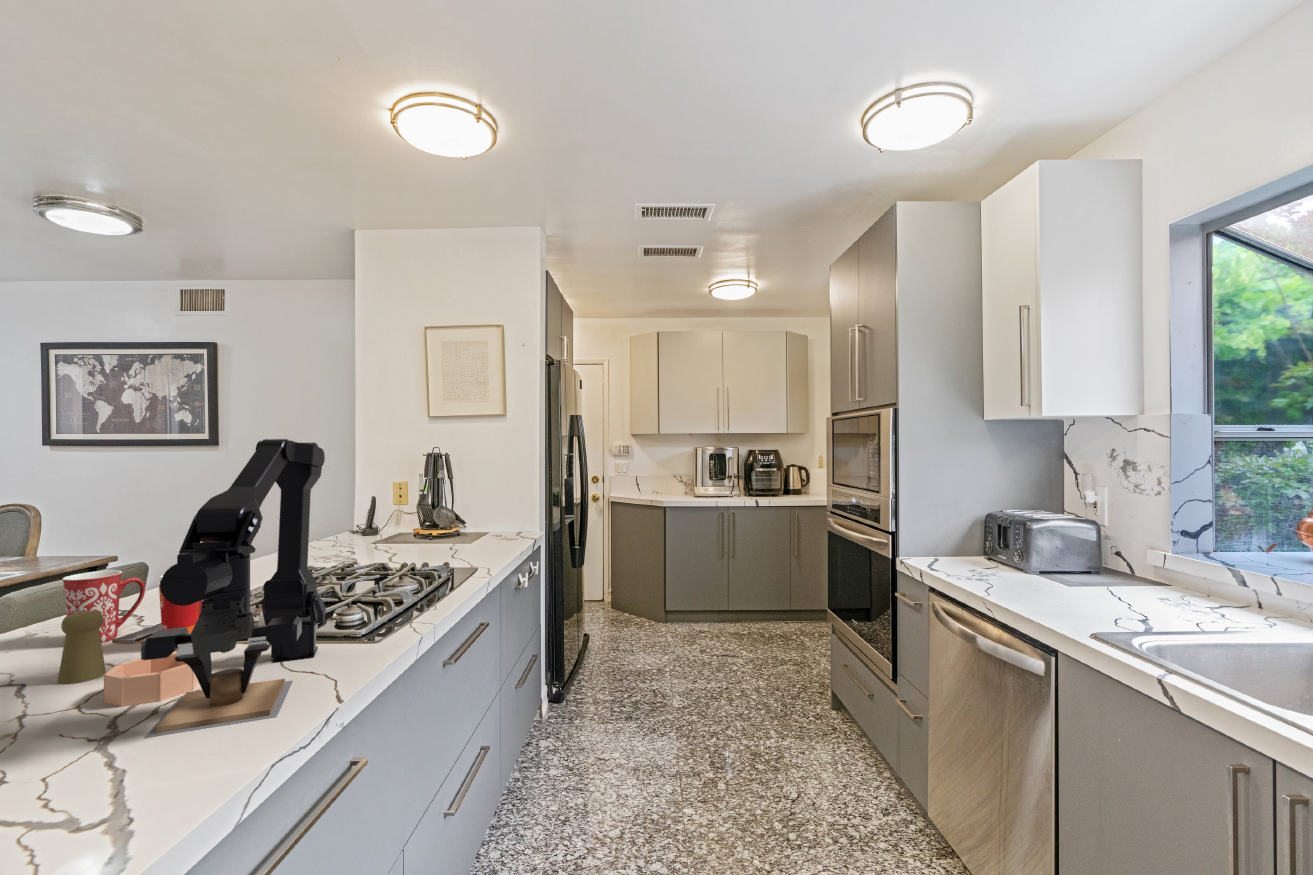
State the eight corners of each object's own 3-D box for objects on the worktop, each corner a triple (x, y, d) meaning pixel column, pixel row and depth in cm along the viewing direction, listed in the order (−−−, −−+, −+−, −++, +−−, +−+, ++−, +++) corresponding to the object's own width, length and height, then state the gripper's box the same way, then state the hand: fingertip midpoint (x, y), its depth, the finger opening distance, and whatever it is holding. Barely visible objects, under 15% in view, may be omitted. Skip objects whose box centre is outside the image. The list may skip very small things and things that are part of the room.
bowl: (207, 675, 103) (207, 649, 103) (186, 699, 93) (186, 670, 93) (124, 686, 98) (125, 658, 99) (93, 713, 88) (93, 682, 88)
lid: (285, 683, 98) (285, 653, 98) (269, 715, 86) (269, 681, 86) (186, 697, 93) (186, 665, 93) (155, 733, 81) (156, 696, 81)
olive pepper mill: (76, 685, 99) (76, 617, 100) (47, 682, 101) (48, 616, 101) (115, 671, 105) (116, 608, 106) (88, 669, 106) (88, 607, 107)
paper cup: (174, 639, 123) (175, 570, 124) (214, 638, 124) (214, 569, 124) (145, 652, 116) (146, 578, 116) (188, 650, 116) (188, 577, 116)
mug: (58, 651, 117) (59, 581, 117) (64, 640, 124) (65, 574, 124) (144, 637, 125) (144, 572, 125) (145, 628, 132) (145, 566, 132)
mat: (293, 682, 99) (293, 680, 99) (276, 719, 85) (276, 716, 85) (180, 698, 93) (180, 696, 93) (143, 740, 80) (143, 737, 80)
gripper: (125, 608, 79) (124, 730, 78) (291, 593, 86) (291, 704, 86) (156, 590, 89) (155, 698, 89) (302, 578, 96) (302, 677, 96)
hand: (226, 694), depth 89 cm, fingers closed on lid, 4 cm apart
